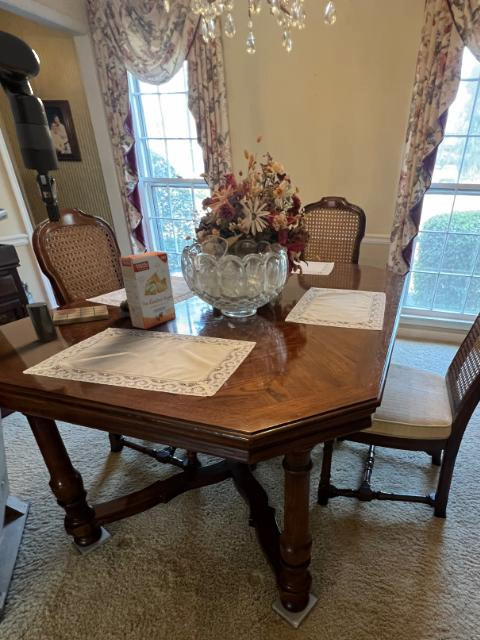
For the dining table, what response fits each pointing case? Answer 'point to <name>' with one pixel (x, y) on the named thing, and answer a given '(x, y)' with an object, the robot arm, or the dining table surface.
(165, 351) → the dining table surface
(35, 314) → the black piece
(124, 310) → the bison figurine
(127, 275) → the cracker box
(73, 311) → the grid board
